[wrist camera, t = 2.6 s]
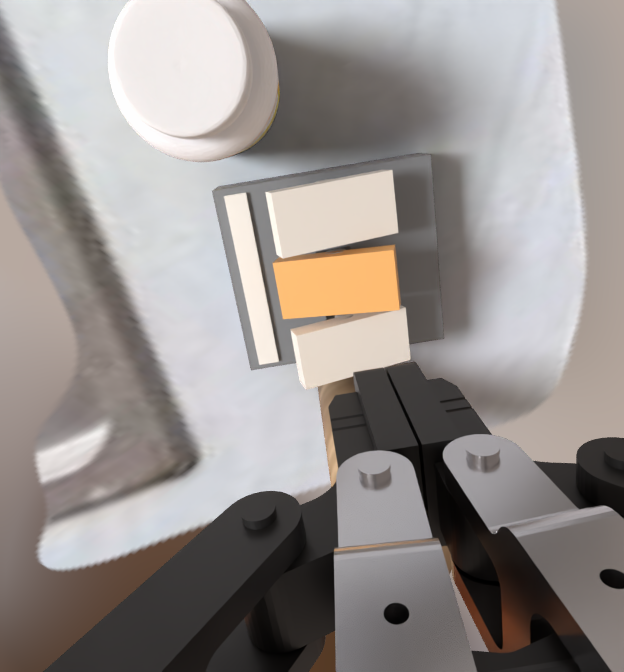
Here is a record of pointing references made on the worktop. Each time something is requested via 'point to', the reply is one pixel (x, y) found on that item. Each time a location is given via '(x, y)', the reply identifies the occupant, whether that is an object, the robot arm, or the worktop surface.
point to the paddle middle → (338, 282)
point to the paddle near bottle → (332, 212)
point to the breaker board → (259, 250)
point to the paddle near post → (350, 345)
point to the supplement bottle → (194, 76)
